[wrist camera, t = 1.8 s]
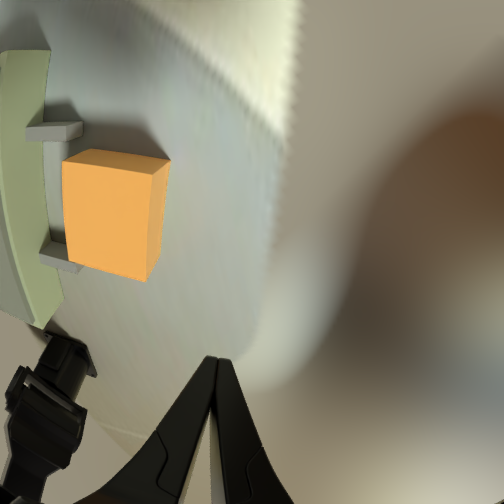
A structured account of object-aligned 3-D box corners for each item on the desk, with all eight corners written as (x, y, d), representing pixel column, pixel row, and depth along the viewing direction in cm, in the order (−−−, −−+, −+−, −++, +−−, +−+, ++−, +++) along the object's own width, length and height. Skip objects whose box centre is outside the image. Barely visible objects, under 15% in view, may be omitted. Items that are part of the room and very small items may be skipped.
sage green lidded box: (97, 308, 23) (74, 348, 18) (24, 283, 22) (-1, 314, 18) (94, 43, 11) (44, 35, 7) (4, 63, 11) (-41, 70, 6)
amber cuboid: (161, 253, 20) (145, 282, 17) (91, 236, 19) (68, 260, 16) (171, 159, 16) (152, 174, 13) (91, 147, 16) (61, 161, 13)
